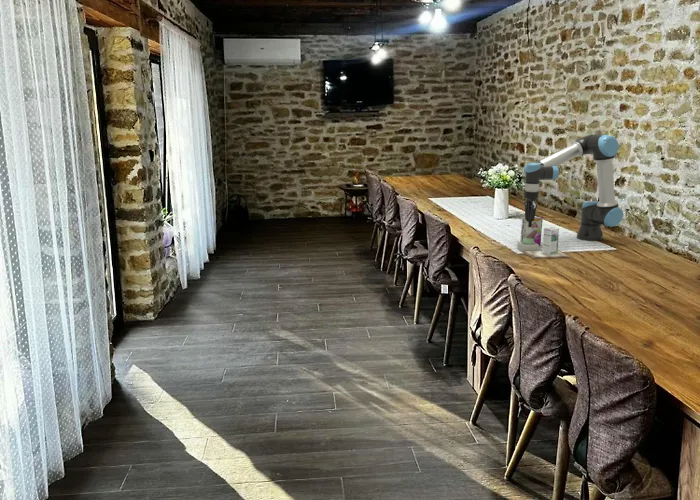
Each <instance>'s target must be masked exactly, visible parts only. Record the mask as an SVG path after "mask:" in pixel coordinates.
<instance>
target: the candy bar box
mask: <svg viewBox="0 0 700 500" xmlns="http://www.w3.org/2000/svg"><path fill="white" fill-rule="evenodd" d="M526 222H527V221H526V219H525V216H522V217H521V230H520V241H519V242H523V238H533V239H534V242H535V243H536V244H538V245H539V246H541V243H542V242H541V241H542V231H543V218H542V217H541V216H535V218H534V221H532V231H531V233H526Z"/></svg>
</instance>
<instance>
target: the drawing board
mask: <svg viewBox="0 0 700 500" xmlns="http://www.w3.org/2000/svg"><path fill="white" fill-rule="evenodd" d="M542 251H543V250H538V251H523V252H522V253H523V254H525V255H526V256H527V257H528V258H531V259H532V260H545V259H547V260H548V259H551V260H553V258H555V259H571V258H572V257H571V256H570V255H568V254H567V253H564V252H563V251H561V250H560V249H558V252H557V254H553V255H547V254H544V253H542Z"/></svg>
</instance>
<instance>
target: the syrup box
mask: <svg viewBox="0 0 700 500" xmlns="http://www.w3.org/2000/svg"><path fill="white" fill-rule="evenodd" d="M559 232H560V228H558V227H555V226H551V227H550V226H547V227H543V237H542V250H541V251H542V253H544V254H547V255H553V254H557V252H558V250H559V237H560V235H559V234H560V233H559Z"/></svg>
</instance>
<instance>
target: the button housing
mask: <svg viewBox="0 0 700 500" xmlns="http://www.w3.org/2000/svg"><path fill="white" fill-rule="evenodd" d="M516 245H517V246H516V249H517V250H519V251H521V253H523V251H540V250H539V246H540V245H538V244H536V243H535V242H534V245H524V244H523V242H520V241H517V244H516Z"/></svg>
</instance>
